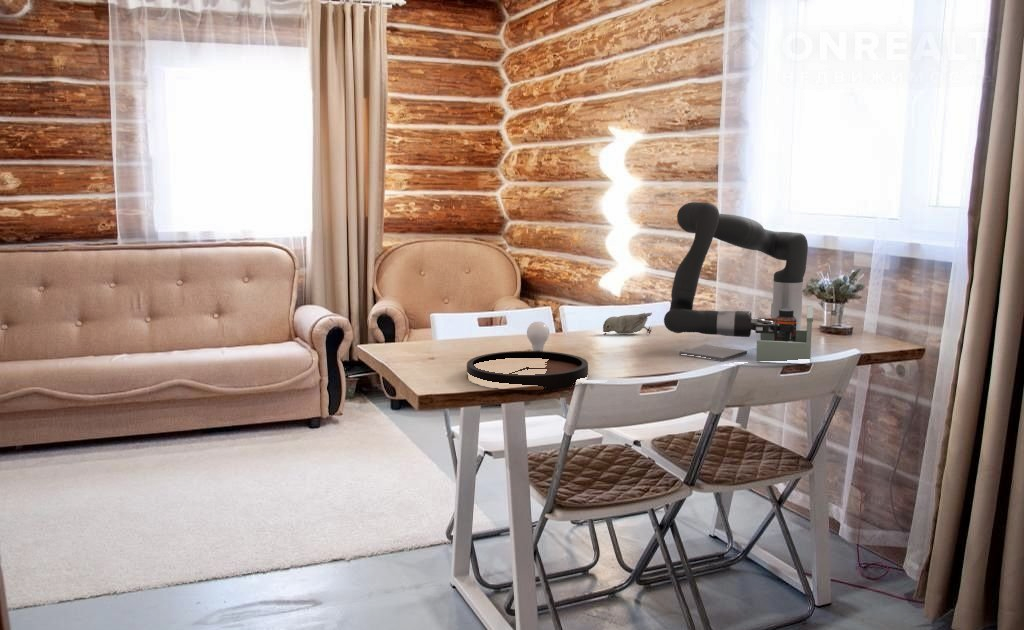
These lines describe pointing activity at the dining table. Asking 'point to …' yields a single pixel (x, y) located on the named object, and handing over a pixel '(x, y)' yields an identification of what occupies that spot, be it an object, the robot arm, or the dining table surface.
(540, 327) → the lightbulb
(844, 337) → the dining table surface
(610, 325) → the decorative bird
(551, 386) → the wall clock
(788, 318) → the supplement bottle
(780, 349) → the sage green open tray
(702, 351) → the slate tile
